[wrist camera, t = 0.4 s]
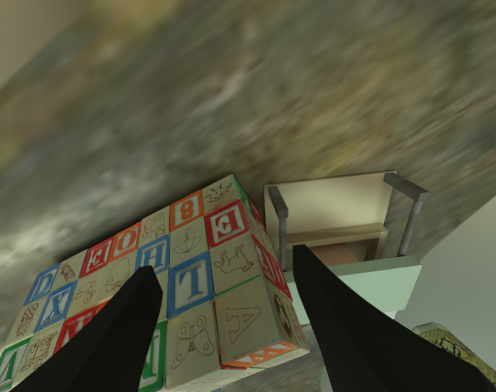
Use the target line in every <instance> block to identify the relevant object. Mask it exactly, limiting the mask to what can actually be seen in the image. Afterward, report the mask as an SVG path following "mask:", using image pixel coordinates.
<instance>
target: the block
mask: <svg viewBox="0 0 496 392" xmlns="http://www.w3.org/2000/svg"><path fill="white" fill-rule="evenodd" d="M308 248H309V249H310V250H311V251H312V252H313V253H314V254H315V255H316V256H317V257H318V258H319V259H320V260H321V261H322V262H323V263H324V264H325V265H326V266H327V267H328V266H335V265H343V264H350V263H358V262H359V261H358V260H357V259H356V257H355V256H354V255H353V253H352V252H351V251H350V249H349V248H348V246H347V245H346V244H345V242H344V243H336V244H329V245H321V246H313V247H308Z"/></svg>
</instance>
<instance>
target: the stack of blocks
mask: <svg viewBox="0 0 496 392" xmlns="http://www.w3.org/2000/svg"><path fill="white" fill-rule="evenodd" d="M149 265H152V267H153V269H154V272H155V274H156V276H157V279H158V281H159V283H160V286H161V288H162V291H163V298H162V304H161V309H160V314H159V318H158V321H157V325H156V328H155V331H154V335H153V338H152V341H151V344H150V348H149V351H148V354H147V358H146V361H145V364H144V368H143V372H142V376H141V380H140V385H139V390H138V392H210V391H212V390H215V389H217V388H220V387H222V386H223V385H225V384H228V383H231V382H233V381H236V380H239V379H241V378H244V377H247V376H249V375H252V374H255V373H257V372H260V371H262V370H264V369H265V368H269V367H273V366H276V365H278V364H281V363H284V362H286V361H289V360H292V359H294V358H297V357H300V356H302V355H305V354H307V353H309V352H310V349H309V347H308V344H307V342H306V339H305V336H304V334H303V331H302V328H301V326H300V323H299V320H298V318H297V315H296V312H295V310H294V307H293V305H292V303H293V299H292V296H291V293H290V290H289V288H288V285H287V283H286V280H285V277H284V274H283V272H282V269H281V267H280V265H279V264H278V261H277V258H276V256H275V253H274V250H273V248H272V245H271V243H270V240H269V238H268V235H267V232H266V229H265V226H264V224H263V221H262V218H261V215H260V213H259V211H258V210H257V208H256V207H255V205H254V204H253V202H252V201H251V199H250V198H249V196H247V195H246V193H245V192H244V190H243V189H242V187H241V186H240V184H239V183H238V181H237V180H236V178H235V177H234V175H233V174H231V175H229V176H227V177H225V178H223V179H221V180H219V181H217V182H215V183H213V184H211V185H209V186H207V187H205V188H204V189H202V190H198V191H196V192H194V193H192V194H190V195H188V196H186V197H184V198H183V199H181V200H179V201H177V202H175V203H173V204H172V205H170V206H167V207H165V208H163V209H161V210H159V211H157V212H155V213H153V214H151V215H150V216H148V217H146V218H144V219H142V221H141V222H138V223H136V224H135V225H133V226H131V227H129V228H127V229H125V230H123V231H121V232H120V233H118V234H116V235H115V236H113V237H111V238H109V239H107V240H105V241H103V242H101V243H99V244H97V245H95V246H93V247H92V248H90V249H86V250H84V251H82V252H80V253H78V254H76V255H75V256H73V257H71V258H69V259H67V260H65V261H63V262H62V263H59V264H57V265H55V266H53V267H51V268H50V269H48V270H46V271H44V272H42V273H40V274H39V275H38V276H37V278H36V280H35V282H34V284H33V286H32V288H31V290H30V292H29V295H28V297H27V299H26V301H25V303H24V305H23V308H22V309H21V311H20V313H19V315H18V317H17V319H16V321H15V323H14V325H13V327H12V329H11V331H10V334H9V336H8V338H7V340H6V342H5V344H4V347H3V348H4V349H5V350H4V351H3V353H2V355H1V357H0V392H9V391H10V390H11V389H12V388H14V387H15V386H16V385H18V384H19V383H20V382H21V381H23V380H24V379H25V378H26V377H27V376H29V375H30V374H31V373H32V372H33V371H35V370H36V369H37V368H38V367H39V366H41V365H42V364H43V363H44V362H45V361H47V360H48V359H49V358H50V357H51V356H53V355H54V354H55V353H56V352H57V351H58V350H59V349H60V348H62V347H63V346H64V345H65V344H66V343H67V342H68V341H69V340H70V339H71V338H73V337H74V336H75V335H76V334H77V333H78V332H79V331H80V330H81V329H82V328H83V327H84V326H85V325H86V324H87V323H88V322H89V321H90V320H91V319H92V318H93V317H94V316H95V315H96V314H97V313H98V312H99V311H100V310H101V309H102V308H103V307H104V306H105V304H106V303H107V302H108V301H109V300H110V299H111V298H112V297H113V296H114V295H115V294H116V292H117V291H118V290H119V289H120V288H121V287H122V286H123V285H124V284H125V282H126V281H127V280H128V279H129V278H130V277H131V276H132V275H133V273H134V272H135V271H136V270H137V269H138V268H139V267H142V266H149Z"/></svg>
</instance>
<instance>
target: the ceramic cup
mask: <svg viewBox="0 0 496 392" xmlns="http://www.w3.org/2000/svg"><path fill="white" fill-rule="evenodd" d="M411 331H412V332H414V333H416V334H417V335H419V336H421V337H423V338H424V339H426V340H428V341H429V342H431V343H433V344H435V345H436V346H438V347H440V348H442V349H444V350H446V351H448V352H450V353H452V354H453V355H455V356H457V357H459V358H461V359H463V360H465V361H467V362H469V363H471V364H472V365H474V366H476V367H477V368H478V369H479V370H480V371H481V372H482V373H483V374H484V375H485V376H486V377H487V378H488V379H489V380H490V381H491V382H492V383H493V385H494V386H495V387H496V371H495V370H494V369H492V368H491V367H490V366H489V365H487V364H486V363H485V362H483V361H482V360H481V359H480V358H479V357H478V356H477V355H475V354H474V353H473V352H472V351H471V350H470V349H469V348H467V347H466V346H465V345H464V344H463V343H462V342H461V341H459V340H458V339H457V338H456V337H455V336H454V335H453V334H452V333H450V332H449V331H448V330H447V329H446V328H445V327H443V326H442V325H440V324H437V323H434V322H431V323H427V324H423V325H419V326H416V327H415V328H414V329H412V330H411Z"/></svg>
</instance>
